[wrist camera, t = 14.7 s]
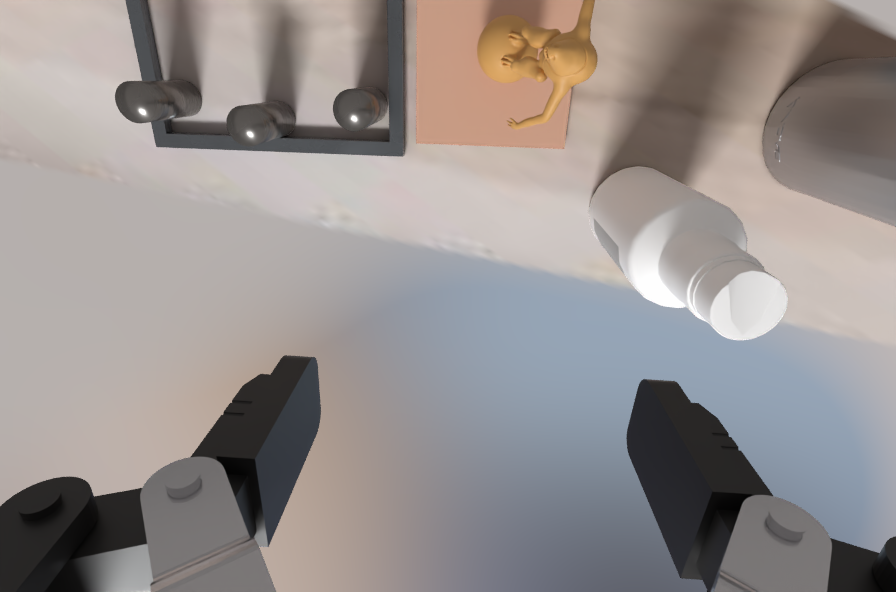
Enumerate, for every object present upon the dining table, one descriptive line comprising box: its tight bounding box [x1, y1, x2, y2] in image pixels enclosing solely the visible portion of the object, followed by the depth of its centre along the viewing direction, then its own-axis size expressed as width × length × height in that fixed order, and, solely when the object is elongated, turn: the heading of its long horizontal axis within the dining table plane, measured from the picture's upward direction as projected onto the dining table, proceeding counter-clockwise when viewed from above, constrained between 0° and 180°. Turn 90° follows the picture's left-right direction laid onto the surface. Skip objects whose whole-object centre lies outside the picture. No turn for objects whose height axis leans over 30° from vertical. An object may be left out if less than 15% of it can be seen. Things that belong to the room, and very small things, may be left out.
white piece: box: [589, 166, 788, 340], centre depth 30 cm, size 7×7×18 cm
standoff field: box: [115, 0, 404, 156], centre depth 32 cm, size 19×17×6 cm
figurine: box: [477, 0, 597, 130], centre depth 28 cm, size 8×6×12 cm
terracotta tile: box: [416, 0, 583, 149], centre depth 34 cm, size 11×12×1 cm
